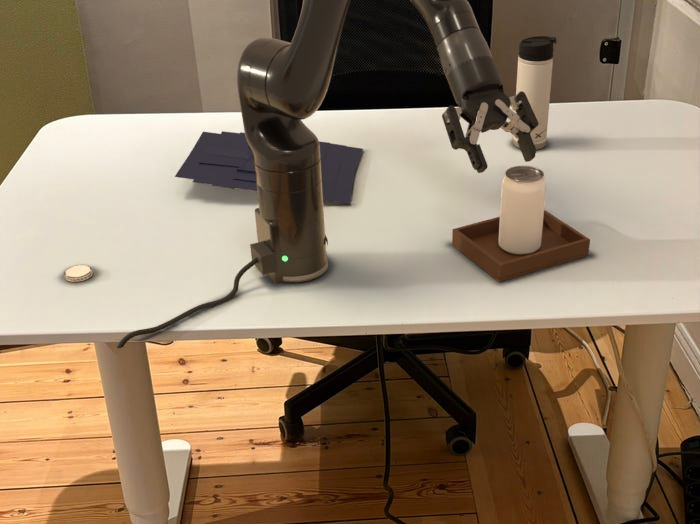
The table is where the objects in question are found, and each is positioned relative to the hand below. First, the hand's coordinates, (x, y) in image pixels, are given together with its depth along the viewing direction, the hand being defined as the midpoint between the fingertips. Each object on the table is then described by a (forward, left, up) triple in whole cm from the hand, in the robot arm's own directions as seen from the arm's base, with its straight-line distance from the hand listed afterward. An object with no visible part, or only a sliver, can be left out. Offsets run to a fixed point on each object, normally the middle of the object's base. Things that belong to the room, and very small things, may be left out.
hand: (507, 164), depth 139 cm
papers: (-22, +41, -13) cm, 48 cm away
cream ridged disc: (-61, +22, -12) cm, 66 cm away
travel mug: (+26, +30, -13) cm, 41 cm away
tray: (0, -4, -12) cm, 13 cm away
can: (0, -4, -12) cm, 13 cm away
